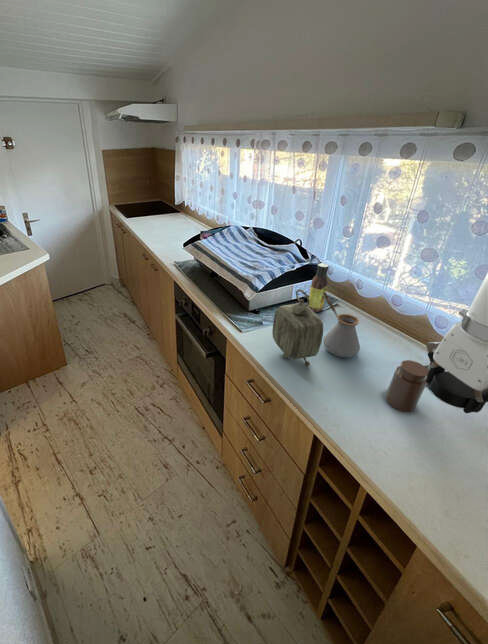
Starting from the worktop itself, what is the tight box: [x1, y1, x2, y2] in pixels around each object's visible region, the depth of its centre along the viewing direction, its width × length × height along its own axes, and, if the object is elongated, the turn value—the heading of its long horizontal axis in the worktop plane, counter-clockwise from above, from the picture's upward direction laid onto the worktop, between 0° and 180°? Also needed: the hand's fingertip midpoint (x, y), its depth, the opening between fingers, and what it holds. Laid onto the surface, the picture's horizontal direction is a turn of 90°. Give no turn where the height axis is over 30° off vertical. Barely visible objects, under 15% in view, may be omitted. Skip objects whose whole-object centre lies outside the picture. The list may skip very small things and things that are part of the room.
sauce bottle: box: [306, 262, 330, 313], centre depth 125 cm, size 6×6×20 cm
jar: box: [384, 359, 429, 413], centre depth 83 cm, size 7×7×12 cm
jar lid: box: [428, 370, 475, 409], centre depth 64 cm, size 8×8×3 cm
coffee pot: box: [320, 291, 361, 358], centre depth 106 cm, size 21×12×15 cm, turn 9°
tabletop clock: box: [271, 289, 324, 367], centre depth 97 cm, size 14×9×25 cm, turn 13°
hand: (450, 395), depth 65 cm, fingers closed on jar lid, 7 cm apart
